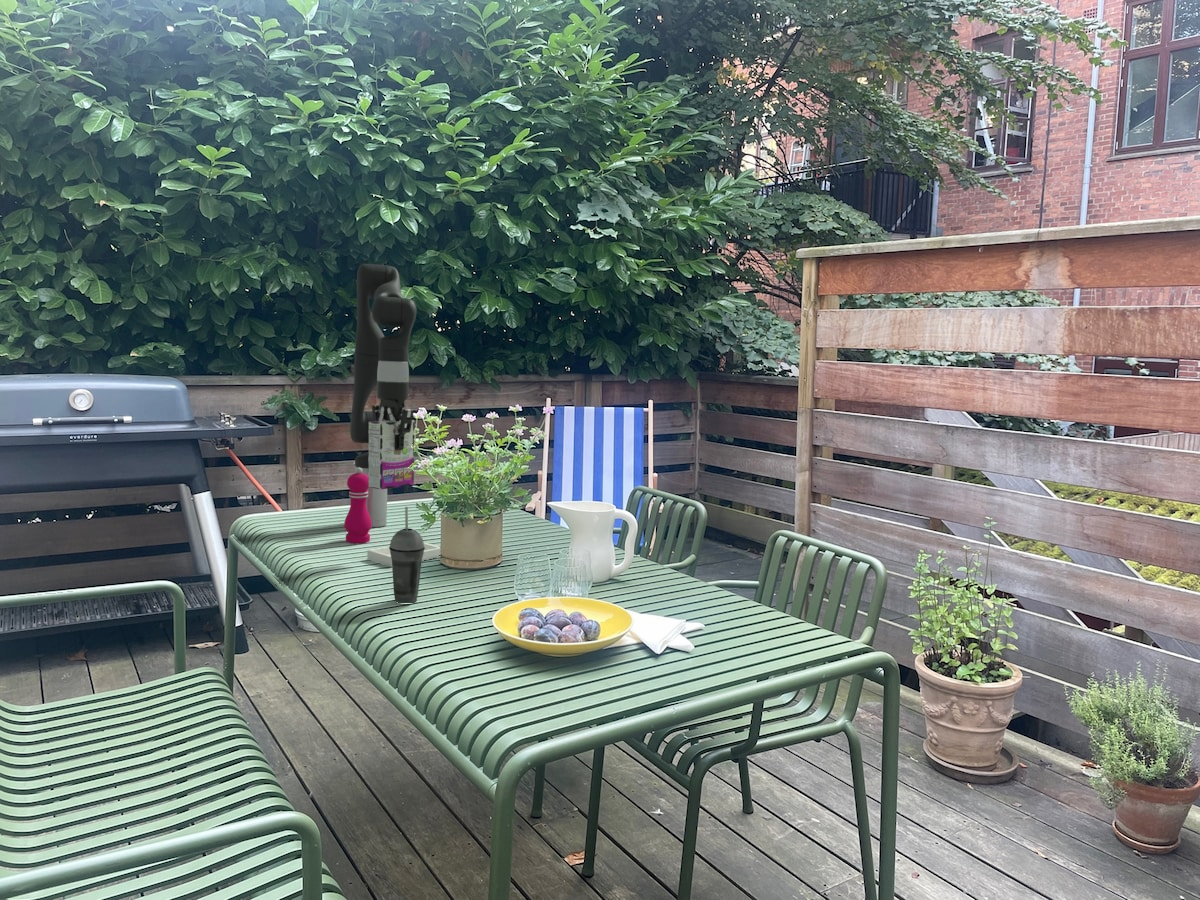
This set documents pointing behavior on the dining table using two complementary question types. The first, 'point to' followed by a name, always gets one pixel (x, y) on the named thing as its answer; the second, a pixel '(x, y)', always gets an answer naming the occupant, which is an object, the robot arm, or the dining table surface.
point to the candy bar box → (389, 457)
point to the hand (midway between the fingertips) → (391, 448)
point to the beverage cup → (406, 563)
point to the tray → (385, 558)
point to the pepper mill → (358, 509)
